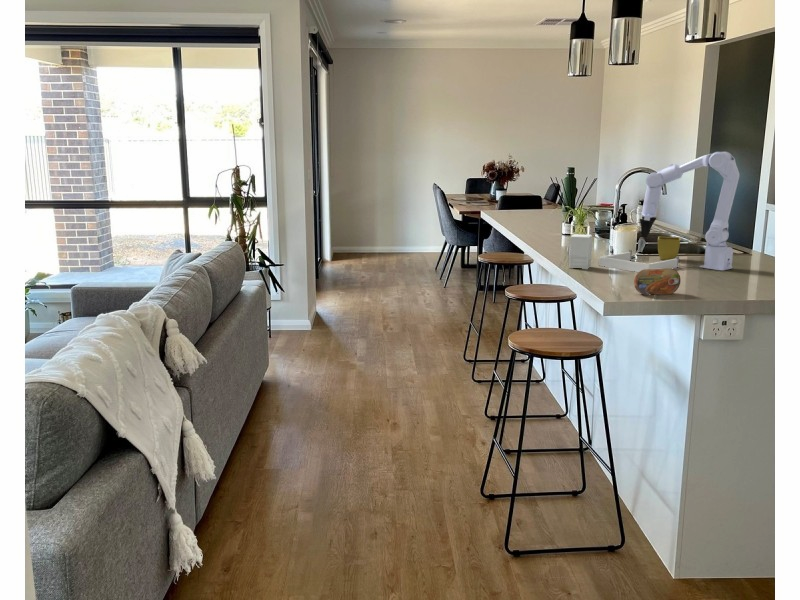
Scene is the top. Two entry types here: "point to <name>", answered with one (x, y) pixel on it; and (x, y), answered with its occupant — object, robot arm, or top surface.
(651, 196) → the robot arm
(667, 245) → the flower pot
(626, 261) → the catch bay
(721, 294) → the top surface
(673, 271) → the tin
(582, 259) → the supplement box
